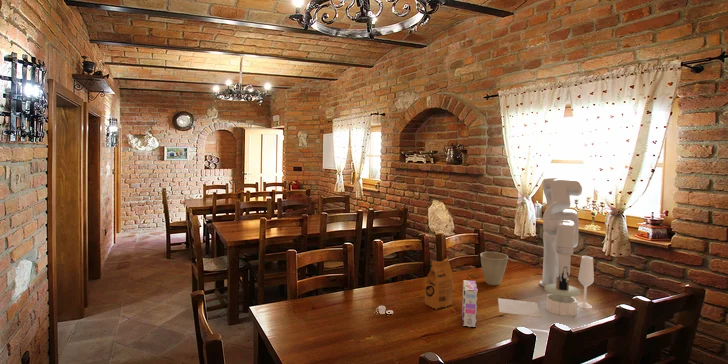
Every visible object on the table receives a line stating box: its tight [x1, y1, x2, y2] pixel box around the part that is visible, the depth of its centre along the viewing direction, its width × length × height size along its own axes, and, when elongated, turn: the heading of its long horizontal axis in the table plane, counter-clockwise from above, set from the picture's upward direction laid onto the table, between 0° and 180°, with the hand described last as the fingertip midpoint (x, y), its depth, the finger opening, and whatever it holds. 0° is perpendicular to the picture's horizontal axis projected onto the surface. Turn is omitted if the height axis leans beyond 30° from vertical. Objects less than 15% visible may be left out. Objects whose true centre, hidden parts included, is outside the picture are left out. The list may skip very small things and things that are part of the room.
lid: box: [544, 277, 581, 298], centre depth 197 cm, size 15×15×6 cm
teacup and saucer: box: [375, 305, 394, 315], centre depth 192 cm, size 9×8×4 cm
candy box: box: [461, 279, 479, 328], centre depth 185 cm, size 14×6×16 cm, turn 168°
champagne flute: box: [577, 255, 595, 309], centre depth 204 cm, size 7×7×24 cm
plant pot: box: [479, 251, 509, 286], centre depth 236 cm, size 15×15×16 cm
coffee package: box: [424, 258, 454, 310], centre depth 204 cm, size 10×12×22 cm
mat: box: [497, 297, 542, 318], centre depth 201 cm, size 18×18×1 cm
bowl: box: [545, 293, 579, 317], centre depth 199 cm, size 13×13×6 cm
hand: (562, 288), depth 198 cm, fingers closed on lid, 3 cm apart
